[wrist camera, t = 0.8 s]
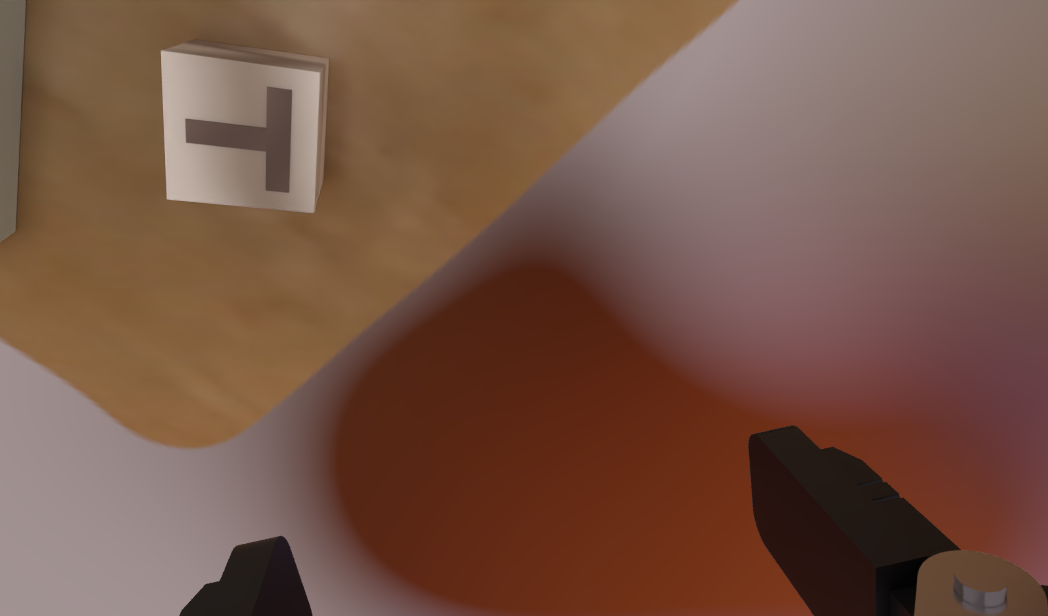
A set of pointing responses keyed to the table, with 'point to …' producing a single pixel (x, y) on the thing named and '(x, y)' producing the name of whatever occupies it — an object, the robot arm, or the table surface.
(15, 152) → the screen
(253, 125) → the letter cube
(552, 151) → the table surface
